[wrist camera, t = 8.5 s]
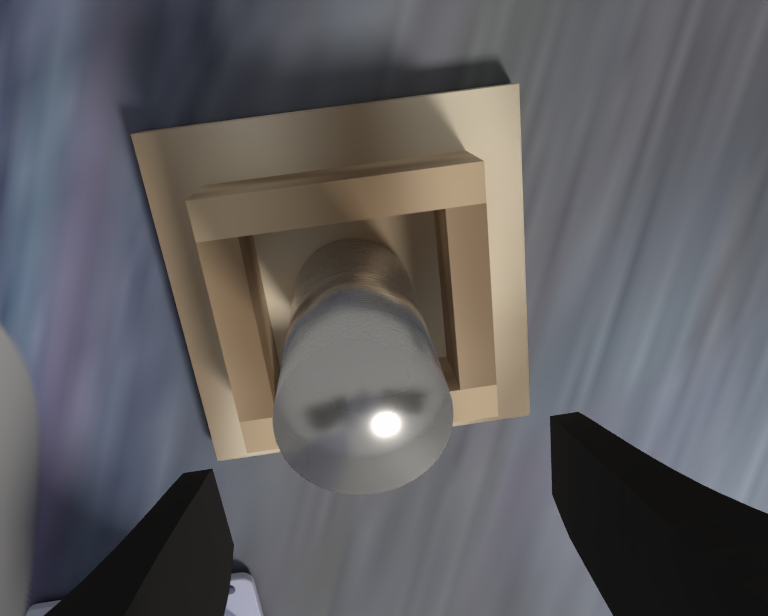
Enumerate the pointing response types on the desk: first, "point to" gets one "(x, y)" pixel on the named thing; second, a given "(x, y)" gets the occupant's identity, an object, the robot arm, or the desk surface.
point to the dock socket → (341, 221)
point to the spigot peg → (359, 375)
